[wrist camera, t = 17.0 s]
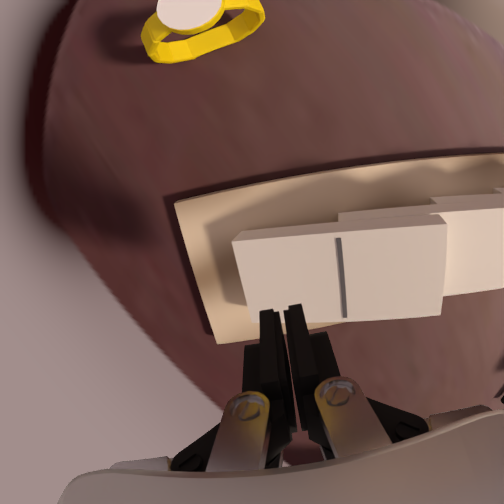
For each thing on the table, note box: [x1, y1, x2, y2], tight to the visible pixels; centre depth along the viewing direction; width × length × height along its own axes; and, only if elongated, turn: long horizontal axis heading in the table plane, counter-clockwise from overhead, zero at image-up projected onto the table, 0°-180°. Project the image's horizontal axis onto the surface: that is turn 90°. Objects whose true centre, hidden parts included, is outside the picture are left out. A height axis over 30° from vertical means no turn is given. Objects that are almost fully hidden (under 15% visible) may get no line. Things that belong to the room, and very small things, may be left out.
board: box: [174, 152, 504, 344], centre depth 18 cm, size 10×28×1 cm, turn 102°
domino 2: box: [338, 200, 504, 296], centre depth 15 cm, size 2×5×11 cm
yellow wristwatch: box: [141, 0, 265, 63], centre depth 11 cm, size 6×3×6 cm, turn 111°
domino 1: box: [231, 214, 447, 323], centre depth 16 cm, size 2×5×11 cm
